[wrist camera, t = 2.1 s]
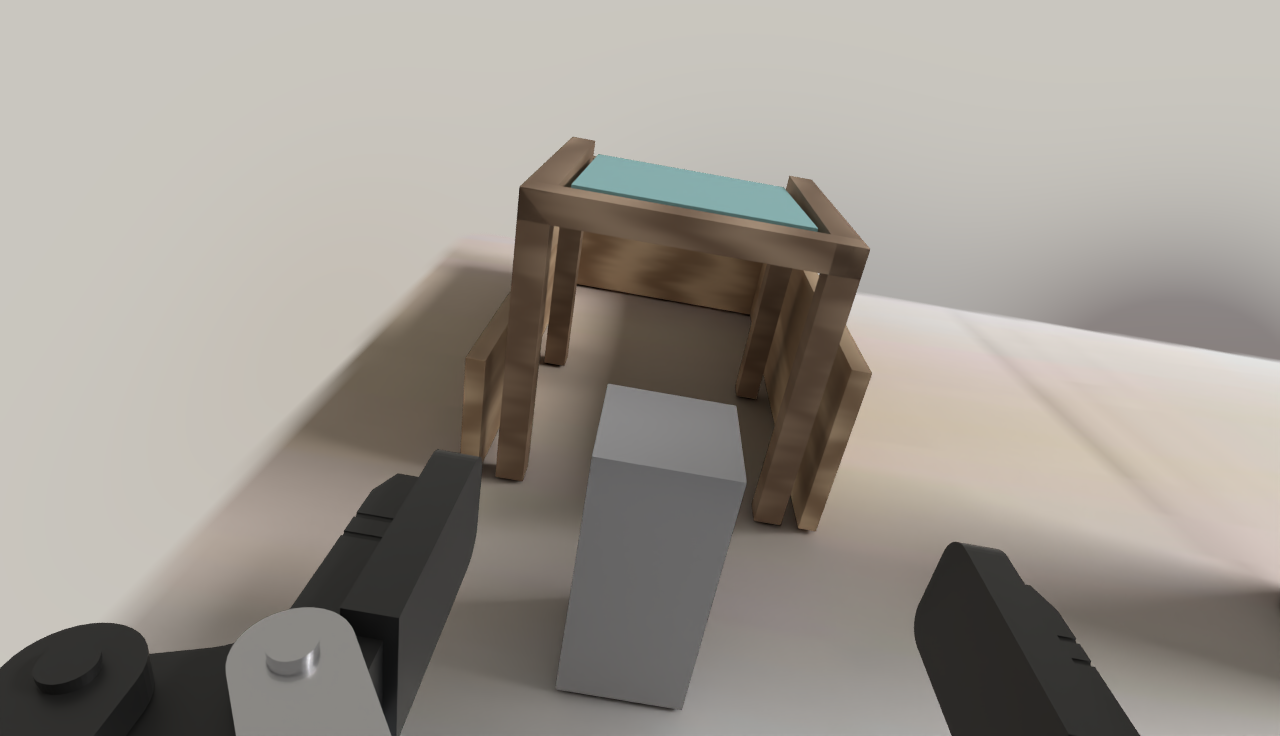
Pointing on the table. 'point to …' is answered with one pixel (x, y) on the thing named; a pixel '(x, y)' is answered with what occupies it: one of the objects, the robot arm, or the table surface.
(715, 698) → the table surface
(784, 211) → the trapdoor
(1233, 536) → the table surface
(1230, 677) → the table surface
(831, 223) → the trapdoor frame
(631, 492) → the granite stone
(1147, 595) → the table surface
